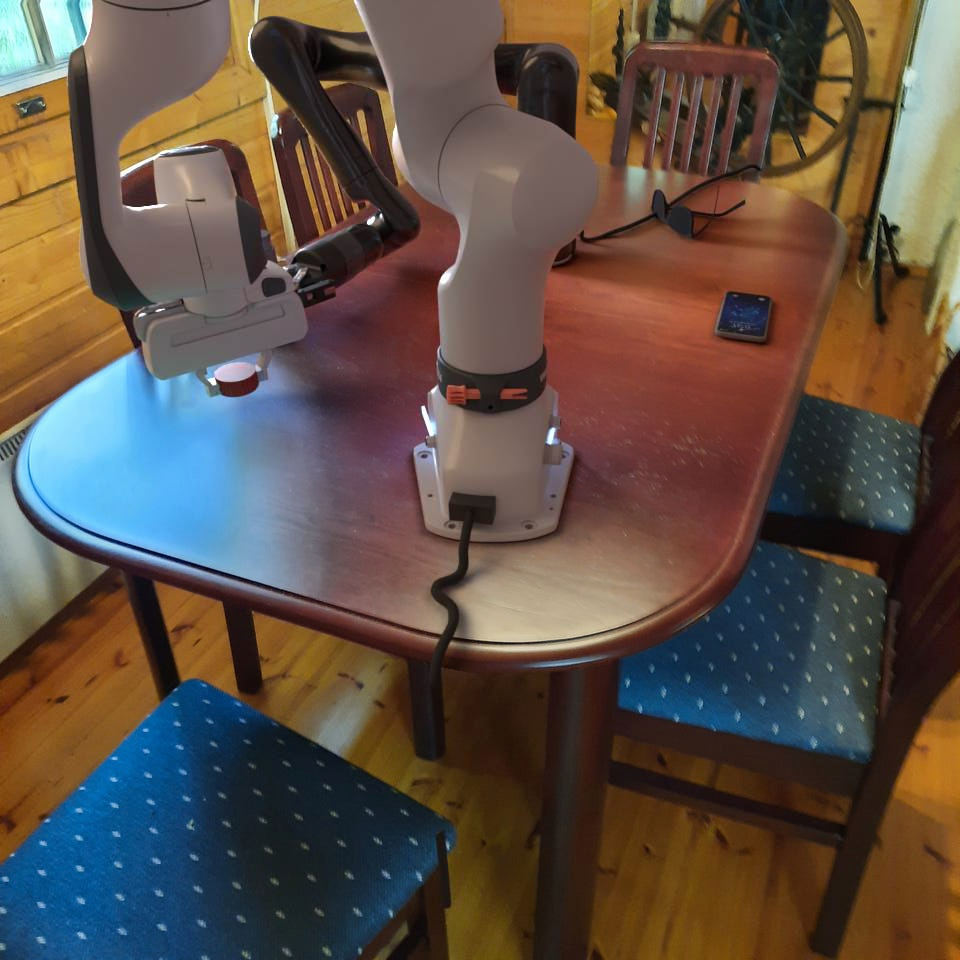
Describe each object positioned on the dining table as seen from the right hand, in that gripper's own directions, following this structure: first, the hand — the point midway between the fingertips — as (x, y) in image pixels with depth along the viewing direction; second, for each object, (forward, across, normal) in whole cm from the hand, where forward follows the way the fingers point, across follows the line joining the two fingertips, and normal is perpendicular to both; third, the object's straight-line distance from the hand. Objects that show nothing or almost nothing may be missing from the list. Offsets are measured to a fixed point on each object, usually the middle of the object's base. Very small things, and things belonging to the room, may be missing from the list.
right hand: (254, 305), depth 121 cm
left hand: (+13, +8, +4) cm, 16 cm away
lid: (+13, +8, +2) cm, 16 cm away
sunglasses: (-77, +39, +6) cm, 87 cm away
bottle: (-3, 0, +6) cm, 7 cm away
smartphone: (-41, +59, +6) cm, 72 cm away
